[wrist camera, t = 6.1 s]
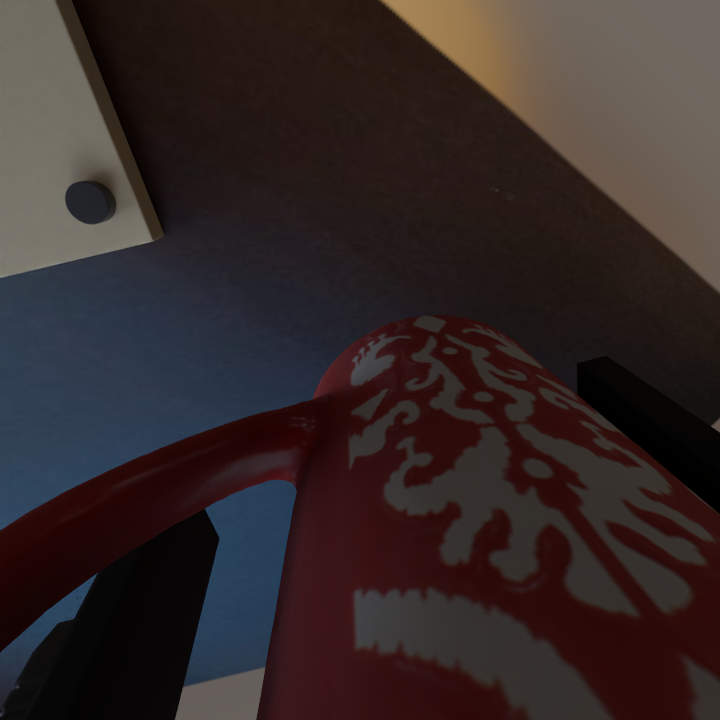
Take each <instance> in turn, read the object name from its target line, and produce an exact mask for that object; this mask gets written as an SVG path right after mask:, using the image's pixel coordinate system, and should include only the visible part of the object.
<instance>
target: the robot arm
mask: <svg viewBox="0 0 720 720" xmlns="http://www.w3.org/2000/svg"><path fill="white" fill-rule="evenodd" d="M577 390H578V396H579V397H580V398H582V399H583V400H584V401H585V402H586V403H588V404H589V405H590V406H591V407H592V408H593V409H594V410H596V411H597V412H598V413H599V414H600V415H602V416H603V417H604V418H605V419H606V420H608V421H609V422H610V423H611V424H612V425H614V426H615V427H616V428H617V429H618V430H620V431H621V432H622V433H623V434H624V435H625V436H627V437H628V438H629V439H630V440H631V441H633V442H634V443H636V444H637V445H639V446H640V447H641V448H642V449H643V450H644V451H646V452H647V453H648V454H649V455H650V456H651V457H653V458H654V459H655V460H656V461H657V462H658V463H660V464H661V465H662V466H663V467H664V468H666V469H667V470H668V471H669V472H670V473H671V474H673V475H674V476H675V477H676V478H677V479H679V480H680V481H681V482H682V483H683V484H684V485H686V486H687V487H688V488H689V489H690V490H692V491H693V492H694V493H695V494H696V495H697V496H699V497H700V498H701V499H702V500H703V501H704V502H706V503H707V504H708V505H709V506H710V507H712V508H713V509H714V510H715V511H716V512H718V513H719V514H720V433H719V432H718V431H717V430H715V429H714V428H712V427H711V426H709V425H708V424H707V423H705V422H704V421H702V420H701V419H699V418H698V417H696V416H695V415H693V414H692V413H690V412H689V411H687V410H686V409H684V408H683V407H681V406H680V405H678V404H677V403H675V402H674V401H673V400H671V399H670V398H668V397H667V396H665V395H664V394H662V393H661V392H659V391H658V390H656V389H655V388H653V387H652V386H650V385H649V384H647V383H646V382H644V381H643V380H641V379H640V378H639V377H637V376H636V375H634V374H633V373H631V372H630V371H628V370H627V369H625V368H624V367H622V366H621V365H619V364H618V363H616V362H615V361H613V360H612V359H610V358H609V357H607V356H604V357H600V358H596V359H592V360H588V361H584V362H580V363H577ZM218 542H219V536H218V534H217V532H216V530H215V528H214V526H213V524H212V522H211V520H210V518H209V516H208V514H207V513H206V511H205V509H203V510H201V511H199V512H197V513H196V514H194V515H192V516H190V517H188V518H186V519H185V520H183V521H180V522H178V523H176V524H174V525H173V526H171V527H170V528H168V529H166V530H165V531H163V532H162V533H160V534H159V535H157V536H155V537H154V538H152V539H151V540H149V541H147V542H145V543H144V544H142V545H140V546H138V547H137V548H135V549H133V550H132V551H130V552H128V553H126V554H125V555H123V556H122V557H120V558H119V559H117V560H116V561H114V562H113V563H111V564H110V565H108V566H107V567H105V568H104V569H102V570H101V571H99V572H98V574H97V576H96V578H95V580H94V582H93V583H92V585H91V587H90V589H89V591H88V593H87V595H86V597H85V599H84V601H83V603H82V605H81V607H80V609H79V610H78V612H77V614H76V616H75V618H74V619H72V620H68V621H64V622H60V623H58V624H57V625H56V626H55V628H54V629H53V630H52V631H51V632H50V633H49V634H48V636H47V637H46V638H45V639H44V640H43V641H42V643H41V644H40V645H39V646H38V647H37V648H36V649H35V651H34V652H33V653H32V655H31V657H30V658H29V660H28V662H27V664H26V666H25V667H24V669H23V671H22V673H21V674H20V676H19V678H18V680H17V681H16V683H15V690H13V691H11V692H10V694H9V696H8V697H7V699H6V701H5V703H4V704H3V706H2V708H1V710H0V720H175V717H176V713H177V709H178V705H179V701H180V697H181V693H182V688H183V684H184V680H185V676H186V672H187V668H188V664H189V660H190V656H191V652H192V648H193V644H194V640H195V636H196V632H197V628H198V623H199V619H200V615H201V611H202V607H203V603H204V599H205V595H206V591H207V587H208V583H209V579H210V575H211V571H212V567H213V563H214V558H215V554H216V550H217V546H218Z"/></svg>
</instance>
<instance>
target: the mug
mask: <svg viewBox="0 0 720 720" xmlns="http://www.w3.org/2000/svg"><path fill="white" fill-rule="evenodd" d="M277 479H278V480H286V481H289V482H291V483H293V485H294V486H295V487H296V490H297V494H296V498H295V503H294V507H293V512H292V518H291V524H290V530H289V535H288V541H287V546H286V552H285V558H284V564H283V570H282V576H281V582H280V588H279V594H278V600H277V606H276V612H275V617H274V623H273V628H272V634H271V639H270V644H269V650H268V656H267V662H266V668H265V674H264V680H263V686H262V693H261V698H260V703H259V708H258V714H257V719H256V720H720V514H719V513H718V512H716V511H715V510H714V509H713V508H712V507H710V506H709V505H708V504H707V503H706V502H704V501H703V500H702V499H701V498H700V497H699V496H697V495H696V494H695V493H694V492H693V491H692V490H690V489H689V488H688V487H687V486H686V485H684V484H683V483H682V482H681V481H680V480H679V479H677V478H676V477H675V476H674V475H673V474H671V473H670V472H669V471H668V470H667V469H666V468H664V467H663V466H662V465H661V464H660V463H658V462H657V461H656V460H655V459H654V458H653V457H651V456H650V455H649V454H648V453H647V452H646V451H644V450H643V449H642V448H641V447H640V446H639V445H637V444H636V443H634V442H633V441H631V440H630V439H629V438H628V437H627V436H625V435H624V434H623V433H622V432H621V431H620V430H618V429H617V428H616V427H615V426H614V425H612V424H611V423H610V422H609V421H608V420H606V419H605V418H604V417H603V416H602V415H600V414H599V413H598V412H597V411H596V410H594V409H593V408H592V407H591V406H590V405H589V404H588V403H586V402H585V401H584V400H583V399H582V398H580V397H579V396H578V395H577V394H576V393H574V392H573V391H572V390H571V389H570V388H569V387H567V386H566V385H565V384H564V383H563V382H562V381H560V380H559V379H558V378H557V377H556V376H555V375H553V374H552V373H551V372H550V371H549V370H548V369H546V368H545V367H544V366H543V365H542V364H541V363H540V362H538V361H537V360H536V359H535V358H534V357H533V356H532V355H531V354H529V353H528V352H527V351H526V350H525V349H524V348H522V347H521V346H520V345H519V344H518V343H517V342H516V341H514V340H513V339H511V338H510V337H508V336H507V335H505V334H504V333H502V332H500V331H498V330H496V329H494V328H493V327H491V326H489V325H487V324H484V323H482V322H477V321H474V320H472V319H467V318H463V317H456V316H448V315H427V316H421V317H411V318H407V319H403V320H400V321H396V322H392V323H389V324H387V325H384V326H382V327H379V328H378V329H376V330H374V331H372V332H370V333H369V334H367V335H365V336H363V337H362V338H360V339H358V340H357V341H355V342H354V343H352V344H351V345H350V346H349V347H348V348H347V349H345V350H344V351H343V352H342V353H341V354H340V355H339V356H338V357H337V359H336V360H335V361H334V362H333V363H332V364H331V365H330V367H329V368H328V370H327V371H326V373H325V374H324V376H323V378H322V379H321V381H320V383H319V385H318V387H317V389H316V391H315V394H314V397H313V399H312V400H310V401H305V402H301V403H298V404H296V405H292V406H289V407H285V408H282V409H278V410H273V411H268V412H263V413H259V414H256V415H252V416H249V417H246V418H243V419H240V420H237V421H234V422H231V423H228V424H225V425H222V426H219V427H216V428H213V429H210V430H207V431H205V432H202V433H199V434H196V435H193V436H191V437H188V438H185V439H183V440H180V441H178V442H175V443H173V444H170V445H168V446H165V447H163V448H160V449H158V450H156V451H153V452H151V453H149V454H146V455H143V456H140V457H138V458H136V459H133V460H131V461H129V462H127V463H125V464H122V465H120V466H118V467H116V468H114V469H111V470H109V471H107V472H105V473H103V474H101V475H99V476H97V477H95V478H92V479H90V480H88V481H86V482H84V483H82V484H80V485H78V486H76V487H74V488H72V489H70V490H68V491H66V492H64V493H62V494H60V495H58V496H57V497H55V498H53V499H51V500H50V501H48V502H46V503H44V504H42V505H41V506H39V507H37V508H35V509H34V510H32V511H30V512H28V513H27V514H25V515H23V516H22V517H20V518H19V519H17V520H16V521H14V522H13V523H11V524H9V525H8V526H6V527H5V528H3V529H2V530H0V652H1V651H2V650H3V649H4V648H6V647H7V646H8V645H9V644H10V643H11V642H12V641H13V640H15V639H16V638H17V637H18V636H19V635H20V634H21V633H23V632H24V631H25V630H26V629H27V628H28V627H29V626H30V625H32V624H33V623H34V622H35V621H36V620H37V619H38V618H39V617H40V616H42V615H43V614H44V613H45V612H46V611H47V610H48V609H49V608H51V607H52V606H54V605H55V604H56V603H57V602H59V601H60V600H61V599H63V598H64V597H65V596H67V595H68V594H69V593H71V592H72V591H73V590H75V589H76V588H77V587H79V586H80V585H82V584H83V583H84V582H86V581H87V580H88V579H90V578H91V577H93V576H94V575H95V574H97V573H98V572H99V571H101V570H102V569H104V568H105V567H107V566H108V565H110V564H111V563H113V562H114V561H116V560H117V559H119V558H120V557H122V556H123V555H125V554H126V553H128V552H130V551H132V550H133V549H135V548H137V547H138V546H140V545H142V544H144V543H145V542H147V541H149V540H151V539H152V538H154V537H155V536H157V535H159V534H160V533H162V532H163V531H165V530H166V529H168V528H170V527H171V526H173V525H174V524H176V523H178V522H180V521H183V520H185V519H186V518H188V517H190V516H192V515H194V514H196V513H197V512H199V511H201V510H203V509H204V508H206V507H208V506H210V505H211V504H213V503H215V502H217V501H219V500H222V499H224V498H226V497H227V496H229V495H231V494H233V493H236V492H239V491H241V490H243V489H245V488H247V487H251V486H254V485H257V484H260V483H263V482H266V481H269V480H277Z"/></svg>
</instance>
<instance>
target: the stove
mask: <svg viewBox="0 0 720 720" xmlns="http://www.w3.org/2000/svg"><path fill="white" fill-rule="evenodd" d="M163 236H164V233H163V230H162V228H161V225H160V223H159V220H158V218H157V215H156V213H155V210H154V208H153V205H152V203H151V200H150V198H149V195H148V192H147V190H146V187H145V185H144V182H143V180H142V177H141V175H140V172H139V170H138V167H137V165H136V162H135V160H134V157H133V155H132V152H131V149H130V147H129V144H128V142H127V139H126V137H125V134H124V132H123V129H122V127H121V124H120V122H119V119H118V117H117V114H116V111H115V109H114V106H113V104H112V101H111V99H110V96H109V94H108V91H107V89H106V86H105V84H104V81H103V79H102V76H101V74H100V71H99V68H98V66H97V63H96V61H95V58H94V56H93V53H92V51H91V48H90V46H89V43H88V41H87V38H86V36H85V33H84V30H83V28H82V25H81V23H80V20H79V18H78V15H77V13H76V10H75V8H74V5H73V3H72V0H0V278H2V277H6V276H10V275H14V274H19V273H23V272H27V271H31V270H35V269H40V268H44V267H48V266H52V265H56V264H61V263H65V262H69V261H73V260H77V259H82V258H86V257H90V256H94V255H98V254H103V253H107V252H111V251H115V250H120V249H124V248H128V247H132V246H136V245H141V244H145V243H149V242H153V241H155V240H157V239H159V238H161V237H163Z"/></svg>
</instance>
